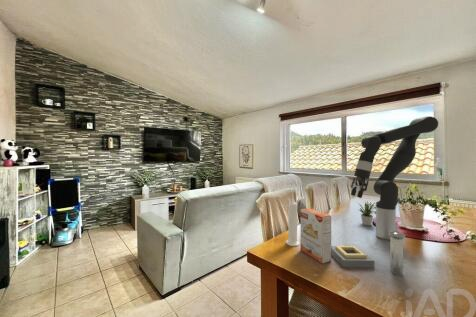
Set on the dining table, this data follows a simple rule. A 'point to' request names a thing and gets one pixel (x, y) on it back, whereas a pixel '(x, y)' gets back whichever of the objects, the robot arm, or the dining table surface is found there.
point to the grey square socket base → (351, 257)
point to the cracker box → (316, 234)
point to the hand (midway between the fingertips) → (355, 196)
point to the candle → (292, 224)
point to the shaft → (396, 252)
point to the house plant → (367, 214)
